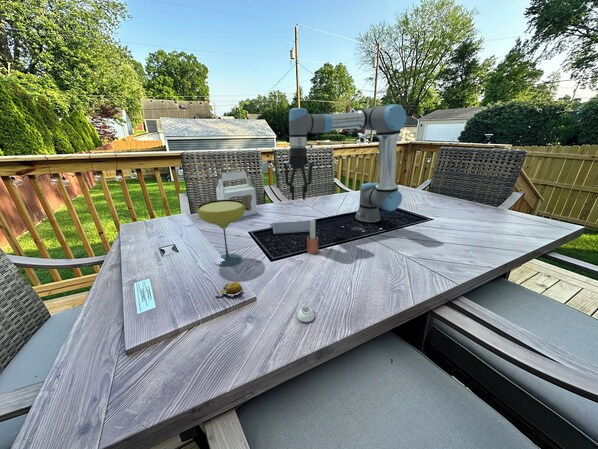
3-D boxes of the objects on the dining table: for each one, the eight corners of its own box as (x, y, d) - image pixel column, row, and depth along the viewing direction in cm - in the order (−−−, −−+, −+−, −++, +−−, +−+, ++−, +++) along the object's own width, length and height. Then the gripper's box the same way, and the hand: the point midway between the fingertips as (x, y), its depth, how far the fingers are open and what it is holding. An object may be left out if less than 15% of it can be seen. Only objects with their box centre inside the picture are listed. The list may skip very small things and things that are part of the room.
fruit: (227, 283, 91) (226, 275, 89) (247, 287, 88) (246, 279, 87) (213, 297, 83) (211, 288, 82) (234, 302, 81) (233, 292, 80)
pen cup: (316, 248, 117) (316, 235, 115) (319, 253, 113) (319, 239, 110) (305, 249, 117) (305, 236, 114) (307, 254, 112) (308, 240, 109)
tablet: (309, 222, 152) (309, 220, 152) (315, 232, 136) (315, 230, 136) (271, 224, 149) (271, 222, 148) (273, 235, 133) (273, 233, 133)
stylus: (314, 249, 116) (314, 219, 110) (315, 251, 114) (316, 221, 108) (309, 249, 115) (309, 219, 110) (310, 252, 113) (310, 221, 108)
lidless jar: (300, 309, 77) (295, 320, 73) (300, 302, 76) (294, 312, 72) (316, 313, 76) (311, 324, 71) (316, 305, 75) (311, 316, 70)
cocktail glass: (226, 276, 96) (218, 215, 87) (196, 263, 105) (187, 207, 96) (257, 257, 110) (253, 203, 101) (228, 247, 119) (222, 197, 110)
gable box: (248, 209, 178) (245, 169, 169) (257, 213, 169) (254, 172, 159) (218, 215, 166) (213, 173, 156) (226, 220, 156) (220, 175, 146)
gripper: (278, 148, 103) (280, 202, 111) (319, 147, 105) (318, 200, 113) (277, 147, 110) (279, 198, 118) (316, 146, 112) (315, 196, 120)
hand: (298, 199), depth 116 cm, fingers open, 4 cm apart
